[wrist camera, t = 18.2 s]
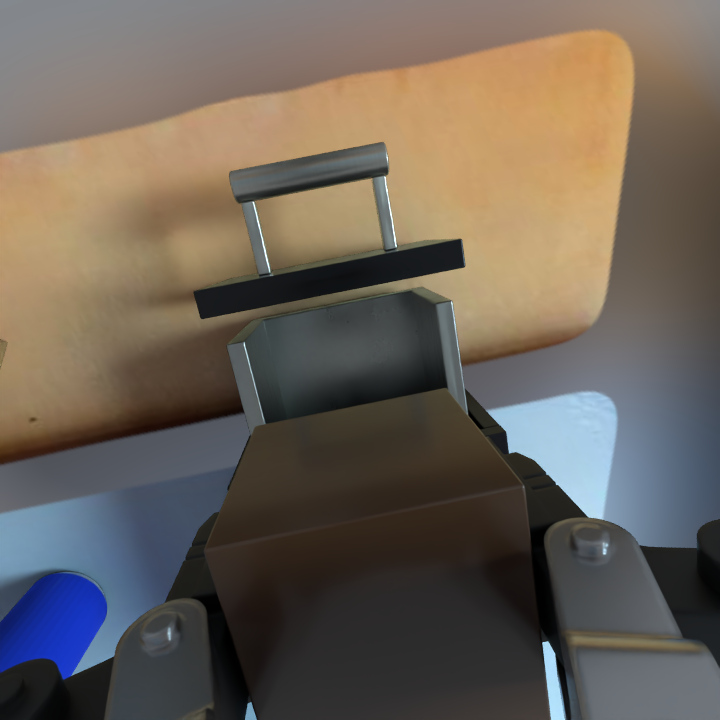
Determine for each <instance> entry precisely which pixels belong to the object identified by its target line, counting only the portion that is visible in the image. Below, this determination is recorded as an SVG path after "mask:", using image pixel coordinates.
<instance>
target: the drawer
mask: <svg viewBox="0 0 720 720" xmlns="http://www.w3.org/2000/svg"><path fill="white" fill-rule="evenodd" d="M388 174H389V159H388V153H387V149H386V145H385V143H384V142H379V143H374V144H369V145H364V146H359V147H353V148H348V149H343V150H338V151H333V152H328V153H322V154H317V155H312V156H307V157H302V158H296V159H291V160H286V161H281V162H276V163H271V164H265V165H260V166H255V167H250V168H245V169H239V170H234V171H231V172H230V173H229V179H230V185H231V189H232V192H233V195H234V198H235V200H236V201H237V203H239V204H241V203H242V204H241V205H242V209H243V213H244V217H245V221H246V225H247V230H248V234H249V238H250V242H251V246H252V250H253V254H254V259H255V263H256V267H257V271H258V273H256V274H251V275H246V276H241V277H236V278H231V279H228V280H225V281H222V282H219V283H216V284H213V285H210V286H207V287H205V288H202V289H199V290H196V291H194V297H195V300H196V304H197V307H198V311H199V315H200V318H201V319H205V318H210V317H216V316H221V315H226V314H231V313H236V312H241V311H246V310H251V309H256V308H261V307H266V306H271V305H276V304H281V303H286V302H292V301H297V300H302V299H307V298H312V297H317V296H322V295H327V294H332V293H337V292H342V291H347V290H352V289H357V288H362V287H368V286H373V285H378V284H383V283H388V282H393V281H398V280H403V279H408V278H413V277H418V276H423V275H428V274H433V273H438V272H444V271H449V270H454V269H459V268H464V267H465V258H464V250H463V243H462V239H441V240H424V241H419V242H414V243H409V244H404V245H399V246H397V243H396V237H395V231H394V225H393V219H392V213H391V206H390V200H389V194H388V188H387V182H386V175H388ZM370 178H372V185H373V191H374V197H375V203H376V209H377V214H378V220H379V226H380V232H381V238H382V243H383V249H378V250H373V251H368V252H363V253H358V254H353V255H348V256H343V257H338V258H333V259H327V260H322V261H317V262H312V263H307V264H302V265H297V266H292V267H287V268H282V269H276V270H272V269H271V264H270V260H269V256H268V251H267V247H266V243H265V239H264V234H263V230H262V226H261V221H260V217H259V213H258V209H257V204H256V202H255V201H257V200H262V199H267V198H272V197H277V196H283V195H288V194H293V193H298V192H303V191H308V190H313V189H319V188H324V187H329V186H334V185H339V184H344V183H350V182H355V181H360V180H365V179H370ZM227 350H228V354H229V357H230V361H231V365H232V368H233V372H234V376H235V380H236V383H237V387H238V391H239V394H240V398H241V402H242V406H243V409H244V413H245V417H246V421H247V424H248V428H249V432H250V435H252V433H253V430H254V428H255V427H256V426H259V425H264V424H269V423H274V422H279V421H284V420H289V419H294V418H299V417H304V416H309V415H314V414H319V413H324V412H329V411H334V410H339V409H344V408H349V407H354V406H358V405H363V404H368V403H373V402H378V401H383V400H388V399H393V398H398V397H403V396H408V395H413V394H418V393H423V392H428V391H433V390H438V389H443V388H446V389H447V390H448V391H449V392H450V393H451V395H452V396H453V397H454V398H455V400H456V401H457V402H458V403H459V405H460V406H461V407H462V408H463V410H464V411H465V412H466V413H467V415H468V408H467V401H466V394H465V387H464V380H463V373H462V365H461V358H460V351H459V344H458V337H457V329H456V322H455V315H454V308H453V302H452V300H450V299H447V298H445V297H443V296H441V295H439V294H437V293H435V292H432V291H430V290H428V289H426V288H424V287H417V288H412V289H407V290H402V291H397V292H392V293H387V294H382V295H377V296H372V297H367V298H362V299H357V300H352V301H347V302H342V303H336V304H331V305H326V306H321V307H316V308H311V309H306V310H301V311H296V312H291V313H286V314H281V315H276V316H271V317H266V318H261V319H256V320H252V321H251V322H250V323H249V324H248V325H247V326H246V327H245V328H244V329H243V330H242V331H241V332H240V333H239V334H238V335H236V336H235V337H234V338H233V339H232V340H231V341H230V342H229V343H228V344H227Z"/></svg>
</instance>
